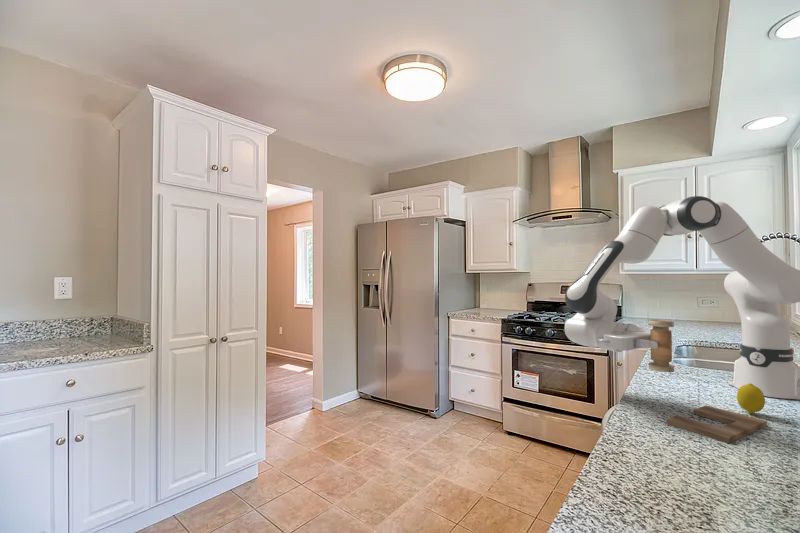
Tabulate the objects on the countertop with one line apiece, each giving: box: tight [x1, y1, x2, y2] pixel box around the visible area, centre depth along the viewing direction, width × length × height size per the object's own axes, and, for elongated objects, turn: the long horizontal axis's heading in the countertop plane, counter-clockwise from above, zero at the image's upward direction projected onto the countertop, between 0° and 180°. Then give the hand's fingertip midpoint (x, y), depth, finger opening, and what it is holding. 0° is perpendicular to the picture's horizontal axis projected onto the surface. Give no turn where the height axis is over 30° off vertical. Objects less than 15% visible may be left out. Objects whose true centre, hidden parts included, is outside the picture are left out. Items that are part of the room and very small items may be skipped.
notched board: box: [666, 405, 768, 444], centre depth 95 cm, size 20×12×1 cm, turn 119°
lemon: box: [736, 383, 766, 415], centre depth 102 cm, size 6×6×8 cm
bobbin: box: [647, 319, 675, 373], centre depth 105 cm, size 6×6×13 cm
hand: (664, 344), depth 104 cm, fingers closed on bobbin, 5 cm apart
